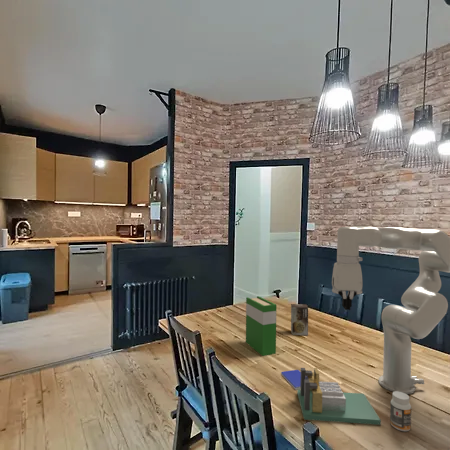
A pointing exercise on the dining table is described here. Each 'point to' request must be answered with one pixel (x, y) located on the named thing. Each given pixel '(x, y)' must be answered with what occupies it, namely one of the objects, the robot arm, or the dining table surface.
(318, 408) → the tan notched block
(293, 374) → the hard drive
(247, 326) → the hardback book
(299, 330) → the coffee box
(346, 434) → the dining table surface
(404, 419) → the pill bottle
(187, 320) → the dining table surface
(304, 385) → the board
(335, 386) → the heatsink
